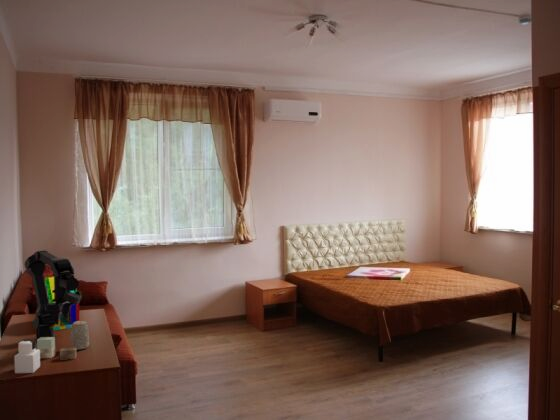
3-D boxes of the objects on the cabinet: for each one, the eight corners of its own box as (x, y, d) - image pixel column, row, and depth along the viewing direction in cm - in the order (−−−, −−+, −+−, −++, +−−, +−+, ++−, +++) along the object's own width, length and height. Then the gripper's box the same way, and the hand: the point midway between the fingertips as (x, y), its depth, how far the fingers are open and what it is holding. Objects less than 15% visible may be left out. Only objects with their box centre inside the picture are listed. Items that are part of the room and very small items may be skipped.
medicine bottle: (22, 367, 203) (21, 337, 202) (40, 366, 203) (39, 337, 202) (14, 373, 195) (13, 343, 195) (33, 373, 196) (32, 343, 195)
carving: (71, 347, 226) (70, 321, 225) (89, 345, 229) (88, 319, 228) (71, 351, 220) (70, 325, 220) (89, 349, 223) (89, 323, 223)
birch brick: (37, 358, 213) (37, 349, 212) (41, 355, 216) (41, 346, 216) (51, 358, 213) (51, 349, 212) (55, 355, 216) (55, 346, 216)
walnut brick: (60, 360, 210) (59, 351, 210) (61, 357, 214) (61, 348, 213) (75, 359, 212) (75, 350, 211) (76, 356, 215) (76, 347, 215)
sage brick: (37, 349, 212) (36, 339, 212) (40, 346, 216) (40, 337, 216) (51, 348, 212) (51, 339, 212) (55, 346, 216) (54, 337, 216)
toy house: (79, 326, 258) (78, 278, 256) (51, 331, 250) (49, 281, 249) (69, 316, 278) (68, 271, 276) (42, 319, 270) (41, 273, 269)
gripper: (70, 292, 216) (70, 328, 217) (87, 283, 234) (87, 315, 236) (44, 291, 216) (45, 327, 217) (63, 282, 234) (63, 315, 236)
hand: (61, 321), depth 226 cm, fingers open, 9 cm apart
